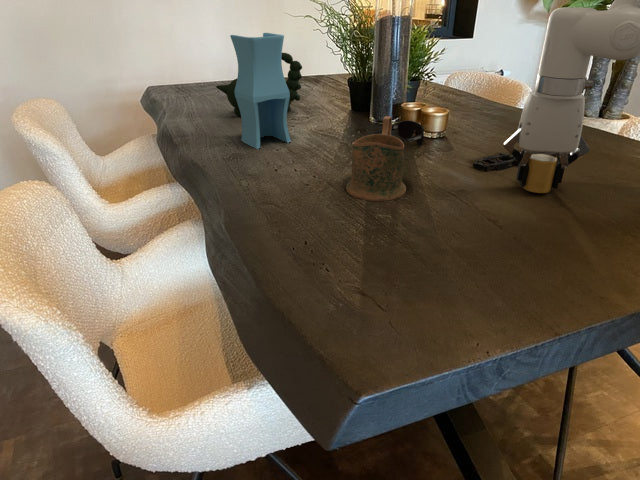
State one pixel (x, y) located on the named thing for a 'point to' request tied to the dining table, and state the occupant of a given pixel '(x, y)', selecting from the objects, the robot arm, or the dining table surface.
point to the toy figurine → (291, 83)
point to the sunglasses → (409, 131)
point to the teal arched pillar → (261, 88)
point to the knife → (500, 161)
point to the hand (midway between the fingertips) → (537, 184)
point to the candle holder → (540, 173)
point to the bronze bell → (377, 166)
